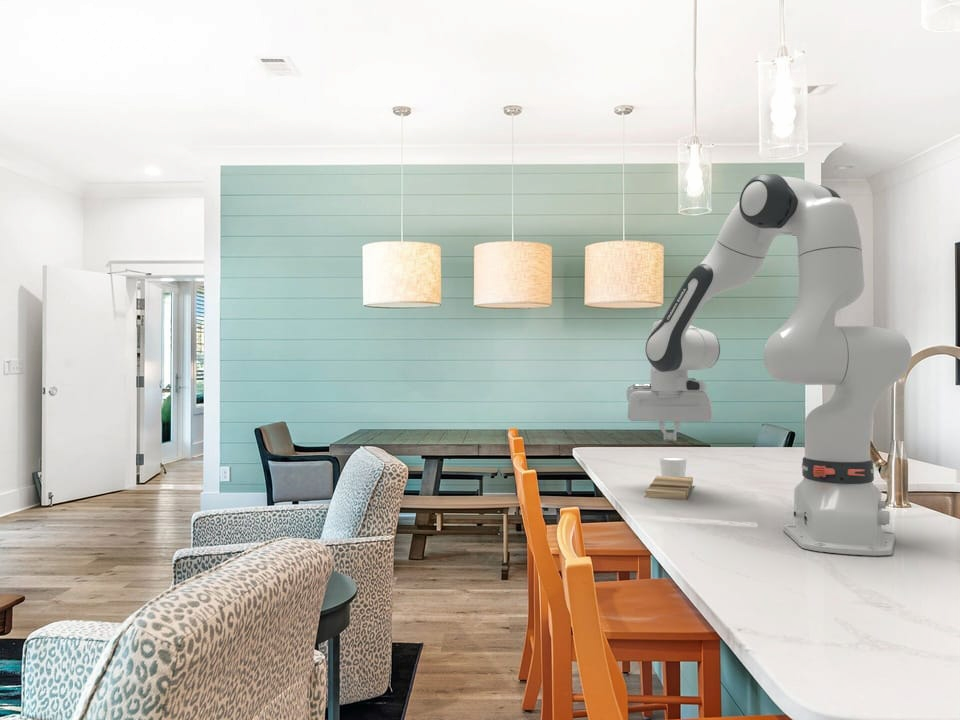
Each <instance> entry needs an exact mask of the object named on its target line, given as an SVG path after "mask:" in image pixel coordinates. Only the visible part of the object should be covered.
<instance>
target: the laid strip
mask: <svg viewBox="0 0 960 720" xmlns="http://www.w3.org/2000/svg"><path fill="white" fill-rule="evenodd" d="M645 495H646V497H650V498H649V499H664V498H667V500H681V499H685V500H684V501H687V500H686V498H687V496H688V487H677V486H657V485H650V484H649V486H648V488H647V489H646V490H645ZM646 497H645V498H646Z"/></svg>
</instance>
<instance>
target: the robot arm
mask: <svg viewBox="0 0 960 720" xmlns="http://www.w3.org/2000/svg"><path fill="white" fill-rule="evenodd" d="M739 196H740V197H739V201H738V202H737V203H736V204H735V206H734V207H733V209H732V210H731V211H730V213H729V214H728V216H727V218H726V220H725V221H724V223H723V224H722V227H721V229H720V231H719V233H718V235H717V237H716V240H715V242H714V244H713V245H712V248H711V249H710V250H709V252H708V253H707V255H706V256H705V258H704V259H703V260H702V261H701V262H700V263H699V264H698V265H697V266H696V267H695V268H693V270H691V272H690V273H689V274H688V276H687V277H686V278H685V280H684V281H683V284H681V286H680V288H679V291H678V292H677V293H676V296H675V297H674V299H673V301H672V302H671V304H670V305H669V308H668V309H667V311H666V313H665V314H664V316H663V317H662V318H660V319H657V320H656V321H654V322H653V324H652V328H651V332H650V335H649V336H648V338H647V340H646V343H645V356H646V358H647V360H648V361H649V364H650V365H651V367H650V383H643V384H638V383H636V384H632V385H631V386H629V387H628V388H627V389H626V400H627V401H628V405H627V419H628V420H629V421H630V422H658V427H659V429H660V431H661V432H662V433H663V441H677V433H678V431H679V430H680V428H681V427H682V426H681V425H682V423H686V422H687V423H688V422H689V423H710V422H711V421H712V420H713V417H714V415H713V406H712V401H711V397H710V395H709V394H708V392H706V391H707V383H706V382H705V381H702V380H699V379H698V380H697V379H696V378H693V377H689V376H688V371H693V370H694V371H698V370H707V369H710V368H712V367H713V366H714V365H716V363H717V362H718V360H719V358H720V354H721V344H720V340H719V339H718V337H717V335H716V334H715V333H714V332H712V331H710V330H707V329H702V328H698V327H696V326H693V325H692V324H693V322H694V320H695V318H696V317H697V315H698V314H699V313H698V312H699V311H700V309H701V308H702V307H703V305H705V303H706V302H708V300H710V299H711V298H713V297H715V296H718V295H719V294H722V293H724V292H727V291H731V290H734V289H738V288H741V287H743V286H745V285H747V284H748V283H750V282H751V281H752V280H753V279H754V278H755V277H756V275H757V274H758V273H759V270H760V269H761V267H762V264H764V263H763V262H764V260H765V258H766V257H767V254H768V252H769V249H770V247H771V245H772V242H773V241H774V240H775V238H776V237H778V236H779V235H781V234H784V235H791V236H794V237H795V238H796V241H797V263H798V289H797V290H798V293H797V300H796V304H795V306H794V309H793V311H792V312H791V314H790V316H789V318H788V319H787V321H786V322H785V323H784V324H783V325H782V326H780V327H779V328H778V329H777V330H776V331H774V332H773V333H772V334H771V335H770V336H769V338H768V339H767V341H766V343H765V345H764V348H763V356H762V357H763V363H764V366H765V368H766V370H767V372H768V373H769V375H770V376H771V377H772V378H773V379H774V380H775V381H777V382H778V381H779V382H782V383H787V384H793V385H798V386H799V385H800V386H813V385H817V386H821V385H824V386H825V385H827V386H832V385H834V386H835V387H834V392H833V394H832V396H831V398H830V399H829V400H828V401H826V402H825V403H822V404H821V405H818V406H816V407H815V408H813V409H812V410H811V411H810V412H809V413H808V415H807V416H806V418H805V419H804V456H803V457H802V462H801V463H802V464H801V469H802V474H801V475H802V476H803V478H802V480H801V482H799V483H798V484H797V485H796V486H795V487H794V488H793V490H794V491H793V492H794V493H793V523H786V524H783V527H782V530H783V532H784V533H786V534H787V536H789V537H790V538H791V539H792V540H793V541H794V542H795V543H796V544H797V545H798V546H799V547H800V548H802V549H805V550H810V551H816V552H821V553H822V552H825V553H831V554H842V555H852V556H853V555H854V556H859V555H860V556H891V555H893V553H894V548H895V543H896V538H897V537H896V532H895V531H893V530H888V529H883V526H887V525H890V524H891V523H890V522H891V521H890V519H891V518H890V515H891V514H890V511H889V510H884V509H886V508H887V504H886V503H887V502H886V501H885V500H882V491H881V490H880V489H879V488H878V487H877V486H876V485H875V484H874V483H873V481H874V480H875V476H874V475H875V466H874V461H873V460H872V459H871V437H872V423H873V417H874V415H875V410H876V408H877V405H878V403H879V402H880V400H881V398H882V397H883V395H884V394H885V393H886V392H887V391H888V390H889V388H890V387H891V386H893V385H894V384H895V383H897V382H898V381H900V379H902V378H904V377H903V376H905V375H906V373H907V372H908V370H909V368H910V366H911V363H912V357H913V355H912V353H913V352H912V348H911V344H910V343H909V340H908V339H907V338H906V336H905V335H904V334H903V333H902V332H901V331H900V330H897V329H891V328H886V327H881V326H875V325H855V326H853V325H850V326H849V325H846V326H843V325H842V326H841V325H840V326H838V325H835V318H836V314H837V312H838V311H840V310H842V309H845V308H846V307H848V306H850V305H852V304H853V303H855V302H856V301H857V300H858V299H859V298H861V296H862V294H863V293H864V290H865V276H864V265H863V264H864V261H863V249H862V247H863V246H862V241H861V240H862V239H861V232H860V228H859V224H858V221H857V220H858V219H857V215H856V213H855V210H854V208H853V205H852V204H851V203H850V201H848V200H845V199H844V198H842V197H841V196H840V194H838V193H837V192H836V191H835V190H834V189H832V188H830V187H829V186H826V185H822V184H817V183H814V182H811V181H808V180H805V179H802V178H799V177H793V176H783V175H779V174H774V173H768V174H767V173H766V174H760V175H756V176H754V177H753V178H750V180H749V181H747V183H746V184H745V185H744V187H743V189H742V191H741V194H740V195H739ZM666 422H669V423H670V422H671V423H673V426H674V427H675V428H674V430H673V432H667V431H666V430H667V429H666V428H665V426H666Z"/></svg>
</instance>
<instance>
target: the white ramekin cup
mask: <svg viewBox="0 0 960 720" xmlns="http://www.w3.org/2000/svg"><path fill="white" fill-rule="evenodd" d="M659 462H660V471H661V472H660V473H661V475H660V476H673V477H686V469H687V459H686V458H683V457H677V456H676V457H673V456H672V457H670V456H669V457H660V458H659Z"/></svg>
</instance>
